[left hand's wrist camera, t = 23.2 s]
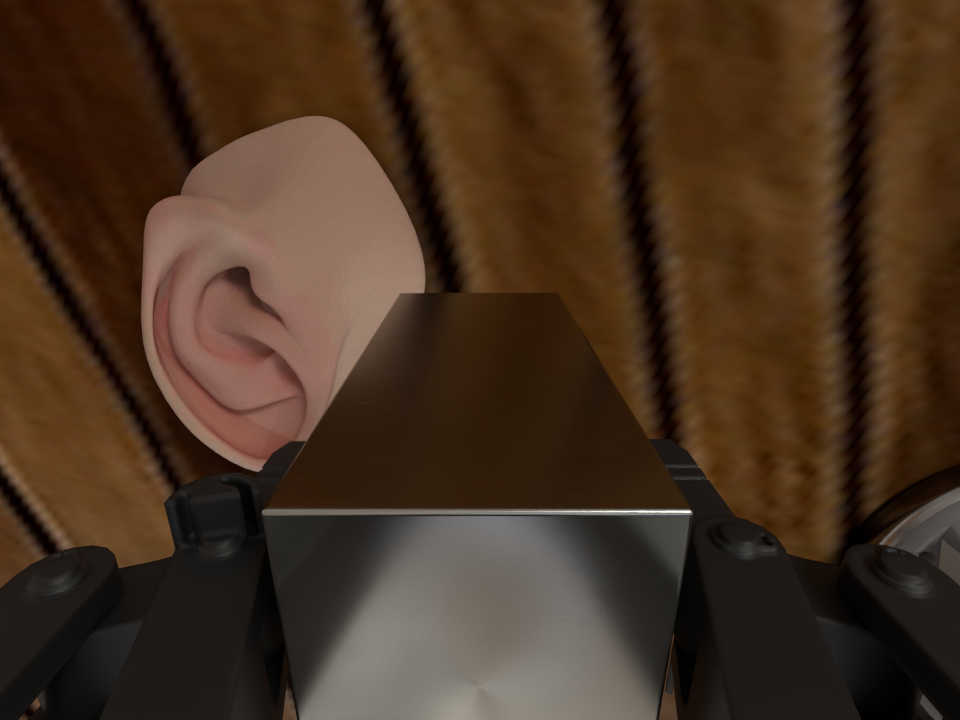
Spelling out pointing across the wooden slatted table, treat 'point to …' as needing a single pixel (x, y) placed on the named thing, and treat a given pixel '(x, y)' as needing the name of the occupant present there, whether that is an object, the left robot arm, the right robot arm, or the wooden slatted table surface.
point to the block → (477, 527)
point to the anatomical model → (271, 283)
